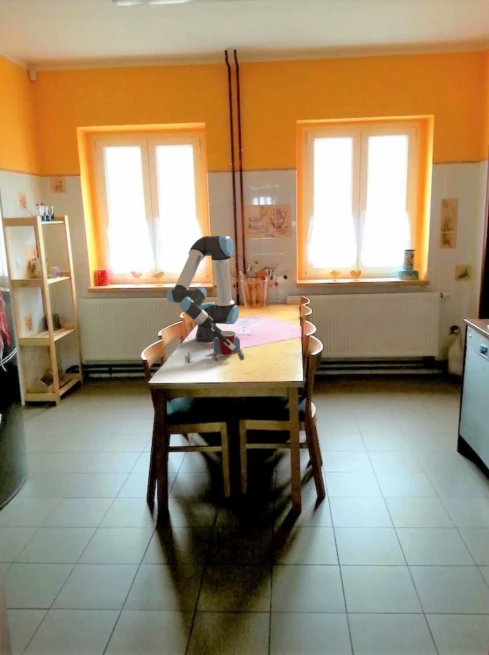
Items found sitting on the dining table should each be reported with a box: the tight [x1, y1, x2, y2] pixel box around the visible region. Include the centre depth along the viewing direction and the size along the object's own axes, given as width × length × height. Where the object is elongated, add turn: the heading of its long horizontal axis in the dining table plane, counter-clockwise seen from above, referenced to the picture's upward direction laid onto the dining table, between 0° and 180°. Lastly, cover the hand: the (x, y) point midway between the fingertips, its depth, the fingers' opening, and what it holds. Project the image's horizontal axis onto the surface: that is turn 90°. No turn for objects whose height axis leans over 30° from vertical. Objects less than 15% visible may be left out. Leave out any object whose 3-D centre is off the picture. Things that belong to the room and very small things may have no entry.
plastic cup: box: [218, 330, 237, 356], centre depth 277 cm, size 11×11×12 cm
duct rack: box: [187, 335, 245, 363], centre depth 277 cm, size 18×30×9 cm, turn 97°
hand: (232, 345), depth 276 cm, fingers open, 12 cm apart
